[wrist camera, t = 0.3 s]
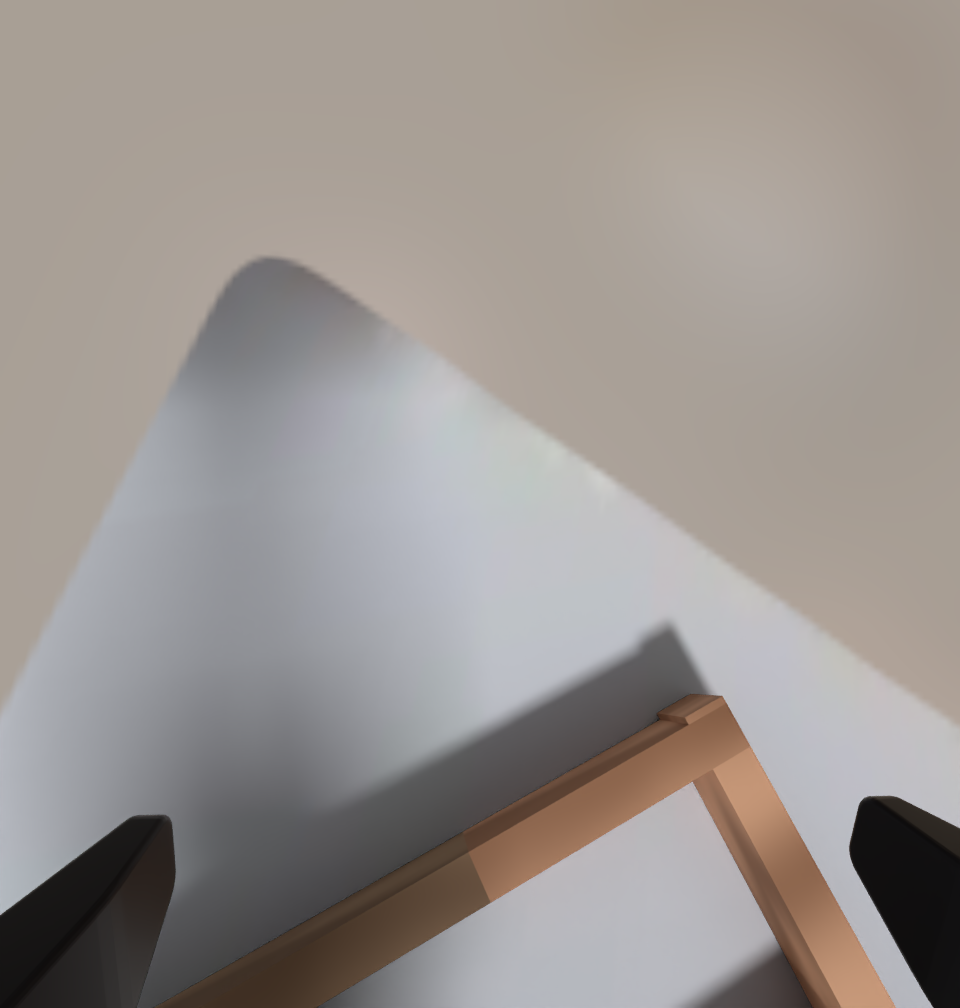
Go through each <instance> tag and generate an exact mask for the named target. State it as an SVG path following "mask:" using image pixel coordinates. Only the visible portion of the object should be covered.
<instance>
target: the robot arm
mask: <svg viewBox="0 0 960 1008" xmlns="http://www.w3.org/2000/svg"><path fill="white" fill-rule="evenodd" d="M849 852H850V857H851V861H852V864H853V866H854V868H855V870H856V872H857V874H858V876H859V878H860V879H861V881H862V883H863V885H864V887H865V888H866V890H867V892H868V894H869V896H870V897H871V899H872V901H873V903H874V905H875V906H876V908H877V910H878V912H879V914H880V915H881V917H882V919H883V921H884V923H885V924H886V926H887V928H888V930H889V932H890V933H891V935H892V937H893V939H894V941H895V943H896V944H897V946H898V948H899V950H900V952H901V953H902V955H903V957H904V959H905V961H906V962H907V964H908V966H909V968H910V970H911V971H912V973H913V975H914V976H915V978H916V980H917V982H918V983H919V985H920V987H921V989H922V990H923V992H924V994H925V995H926V997H927V998H928V1000H929V1001H930V1003H931V1005H932V1006H933V1008H960V828H958V827H956V826H954V825H952V824H950V823H948V822H946V821H944V820H942V819H940V818H938V817H936V816H934V815H932V814H930V813H928V812H926V811H924V810H922V809H920V808H918V807H916V806H914V805H912V804H910V803H908V802H906V801H904V800H902V799H900V798H898V797H894V796H869V797H866V798H864V799H863V800H862V801H861V802H860V804H859V806H858V811H857V815H856V819H855V823H854V828H853V832H852V836H851V840H850V846H849ZM175 874H176V868H175V855H174V842H173V829H172V822H171V820H170V818H169V817H168V816H166V815H137V816H133V817H131V818H129V819H127V820H126V821H125V822H123V823H122V824H121V825H119V826H118V827H117V828H115V829H114V830H113V831H111V832H110V833H109V834H107V835H106V836H105V837H103V838H102V839H101V840H99V841H98V842H97V843H95V844H94V845H93V846H91V847H90V848H89V849H87V850H86V851H85V852H83V853H82V854H81V855H79V856H78V857H77V858H76V859H74V860H73V861H72V862H70V863H69V864H68V865H66V866H65V867H64V868H62V869H61V870H60V871H58V872H57V873H56V874H54V875H53V876H52V877H50V878H49V879H48V880H46V881H45V882H44V883H42V884H41V885H40V886H38V887H37V888H36V889H34V890H33V891H32V892H30V893H29V894H28V895H26V896H25V897H24V898H22V899H21V900H20V901H18V902H17V903H16V904H14V905H13V906H12V907H10V908H9V909H8V910H6V911H5V912H4V913H2V914H1V915H0V1008H137V1004H138V1001H139V998H140V995H141V992H142V988H143V985H144V982H145V979H146V976H147V973H148V969H149V966H150V963H151V960H152V957H153V953H154V950H155V947H156V944H157V941H158V937H159V934H160V931H161V928H162V925H163V922H164V918H165V915H166V912H167V909H168V906H169V902H170V899H171V896H172V893H173V888H174V883H175Z"/></svg>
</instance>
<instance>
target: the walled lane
mask: <svg viewBox="0 0 960 1008" xmlns="http://www.w3.org/2000/svg"><path fill="white" fill-rule="evenodd" d="M657 715H658V717H659V718H660V720H659V721H657V722H655V723H653V724H652V725H650V726H648V727H646V728H644V729H643V730H641V731H639V732H637V733H636V734H634V735H632V736H630V737H629V738H627V739H625V740H623V741H622V742H620V743H618V744H616V745H615V746H613V747H611V748H609V749H608V750H606V751H604V752H602V753H601V754H599V755H597V756H595V757H594V758H592V759H590V760H588V761H586V762H585V763H583V764H581V765H579V766H578V767H576V768H574V769H572V770H571V771H569V772H567V773H565V774H564V775H562V776H560V777H558V778H557V779H555V780H553V781H551V782H550V783H548V784H546V785H544V786H543V787H541V788H539V789H537V790H536V791H534V792H532V793H530V794H529V795H527V796H525V797H523V798H521V799H520V800H518V801H516V802H514V803H513V804H511V805H509V806H507V807H506V808H504V809H502V810H500V811H499V812H497V813H495V814H493V815H492V816H490V817H488V818H486V819H485V820H483V821H481V822H479V823H478V824H476V825H474V826H472V827H471V828H469V829H467V830H465V831H464V832H462V833H460V834H458V835H456V836H455V837H453V838H451V839H449V840H448V841H446V842H444V843H442V844H441V845H439V846H437V847H435V848H434V849H432V850H430V851H428V852H427V853H425V854H423V855H421V856H420V857H418V858H416V859H414V860H413V861H411V862H409V863H407V864H406V865H404V866H402V867H400V868H399V869H397V870H395V871H393V872H391V873H390V874H388V875H386V876H384V877H383V878H381V879H379V880H377V881H376V882H374V883H372V884H370V885H369V886H367V887H365V888H363V889H362V890H360V891H358V892H356V893H355V894H353V895H351V896H349V897H348V898H346V899H344V900H342V901H341V902H339V903H337V904H335V905H334V906H332V907H330V908H328V909H326V910H325V911H323V912H321V913H319V914H318V915H316V916H314V917H312V918H311V919H309V920H307V921H305V922H304V923H302V924H300V925H298V926H297V927H295V928H293V929H291V930H290V931H288V932H286V933H284V934H283V935H281V936H279V937H277V938H276V939H274V940H272V941H270V942H269V943H267V944H265V945H263V946H261V947H260V948H258V949H256V950H254V951H253V952H251V953H249V954H247V955H246V956H244V957H242V958H240V959H239V960H237V961H235V962H233V963H232V964H230V965H228V966H226V967H225V968H223V969H221V970H219V971H218V972H216V973H214V974H212V975H211V976H209V977H207V978H205V979H204V980H202V981H200V982H198V983H196V984H195V985H193V986H191V987H189V988H188V989H186V990H184V991H182V992H181V993H179V994H177V995H175V996H174V997H172V998H170V999H168V1000H167V1001H165V1002H163V1003H161V1004H160V1005H158V1006H156V1007H154V1008H316V1007H318V1006H320V1005H321V1004H323V1003H325V1002H326V1001H328V1000H330V999H331V998H333V997H335V996H336V995H338V994H340V993H341V992H343V991H345V990H346V989H348V988H350V987H351V986H353V985H355V984H356V983H358V982H360V981H361V980H363V979H364V978H366V977H368V976H369V975H371V974H373V973H374V972H376V971H378V970H379V969H381V968H383V967H384V966H386V965H388V964H389V963H391V962H393V961H394V960H396V959H398V958H399V957H401V956H403V955H404V954H406V953H408V952H409V951H411V950H413V949H414V948H416V947H418V946H419V945H421V944H423V943H424V942H426V941H428V940H429V939H431V938H433V937H434V936H436V935H438V934H439V933H441V932H443V931H444V930H446V929H448V928H449V927H451V926H453V925H454V924H456V923H458V922H459V921H461V920H463V919H464V918H466V917H468V916H469V915H471V914H473V913H474V912H476V911H478V910H479V909H481V908H483V907H484V906H486V905H488V904H489V903H491V902H493V901H494V900H496V899H498V898H499V897H501V896H503V895H504V894H506V893H508V892H509V891H511V890H513V889H514V888H516V887H518V886H519V885H521V884H523V883H524V882H526V881H528V880H529V879H531V878H533V877H534V876H536V875H538V874H539V873H541V872H543V871H544V870H546V869H548V868H549V867H551V866H552V865H554V864H556V863H557V862H559V861H561V860H562V859H564V858H566V857H567V856H569V855H571V854H572V853H574V852H576V851H577V850H579V849H581V848H582V847H584V846H586V845H587V844H589V843H591V842H592V841H594V840H596V839H597V838H599V837H601V836H602V835H604V834H606V833H607V832H609V831H611V830H612V829H614V828H616V827H617V826H619V825H621V824H622V823H624V822H626V821H627V820H629V819H631V818H632V817H634V816H636V815H637V814H639V813H641V812H642V811H644V810H646V809H647V808H649V807H651V806H652V805H654V804H656V803H657V802H659V801H661V800H662V799H664V798H666V797H667V796H669V795H671V794H672V793H674V792H676V791H677V790H679V789H681V788H682V787H684V786H686V785H687V784H689V783H691V782H692V781H693V783H694V784H695V786H696V788H697V790H698V792H699V794H700V796H701V798H702V800H703V801H704V803H705V805H706V807H707V809H708V811H709V813H710V815H711V817H712V818H713V820H714V822H715V824H716V826H717V828H718V830H719V832H720V834H721V835H722V837H723V839H724V841H725V843H726V845H727V847H728V849H729V850H730V852H731V854H732V856H733V858H734V860H735V862H736V864H737V866H738V867H739V869H740V871H741V873H742V875H743V877H744V879H745V881H746V883H747V884H748V886H749V888H750V890H751V892H752V894H753V896H754V898H755V900H756V901H757V903H758V905H759V907H760V909H761V911H762V913H763V915H764V917H765V918H766V920H767V922H768V924H769V926H770V928H771V930H772V932H773V934H774V935H775V937H776V939H777V941H778V943H779V945H780V947H781V949H782V951H783V952H784V954H785V956H786V958H787V960H788V962H789V964H790V966H791V967H792V969H793V971H794V973H795V975H796V977H797V979H798V981H799V983H800V984H801V986H802V988H803V990H804V992H805V994H806V996H807V998H808V1000H809V1001H810V1003H811V1005H812V1007H813V1008H896V1007H895V1005H894V1003H893V1002H892V1000H891V998H890V996H889V994H888V993H887V991H886V989H885V987H884V985H883V984H882V982H881V980H880V978H879V976H878V975H877V973H876V971H875V969H874V968H873V966H872V964H871V962H870V960H869V959H868V957H867V955H866V953H865V951H864V950H863V948H862V946H861V944H860V942H859V941H858V939H857V937H856V935H855V933H854V932H853V930H852V928H851V926H850V924H849V923H848V921H847V919H846V917H845V915H844V914H843V912H842V910H841V908H840V906H839V905H838V903H837V901H836V899H835V897H834V896H833V894H832V892H831V890H830V888H829V887H828V885H827V883H826V881H825V879H824V878H823V876H822V874H821V872H820V870H819V869H818V867H817V865H816V863H815V861H814V860H813V858H812V856H811V854H810V852H809V851H808V849H807V847H806V845H805V843H804V842H803V840H802V838H801V836H800V835H799V833H798V831H797V829H796V827H795V826H794V824H793V822H792V820H791V818H790V817H789V815H788V813H787V811H786V809H785V808H784V806H783V804H782V802H781V800H780V799H779V797H778V795H777V793H776V791H775V790H774V788H773V786H772V784H771V782H770V781H769V779H768V777H767V775H766V773H765V772H764V770H763V768H762V766H761V764H760V763H759V761H758V759H757V757H756V755H755V754H754V752H753V750H752V748H751V746H750V745H749V743H748V741H747V739H746V737H745V736H744V734H743V732H742V730H741V728H740V727H739V725H738V723H737V721H736V719H735V718H734V716H733V714H732V712H731V710H730V709H729V707H728V705H727V703H726V702H725V700H724V698H723V696H715V695H699V694H690V695H688V696H686V697H684V698H683V699H681V700H679V701H677V702H675V703H674V704H672V705H670V706H668V707H667V708H665V709H663V710H661V711H660V712H658V713H657Z"/></svg>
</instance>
